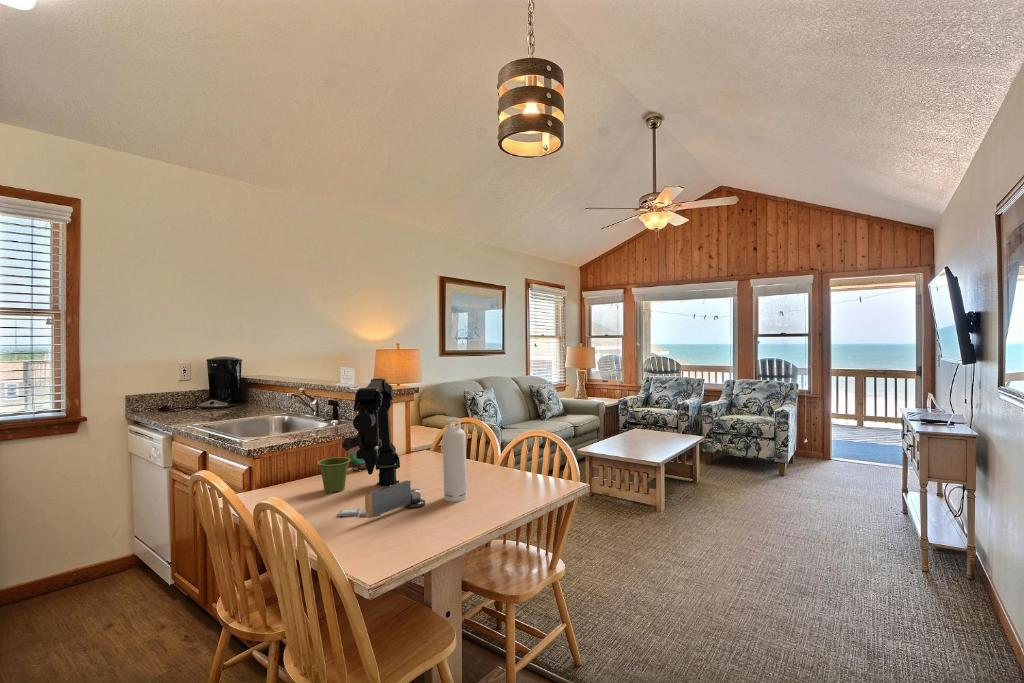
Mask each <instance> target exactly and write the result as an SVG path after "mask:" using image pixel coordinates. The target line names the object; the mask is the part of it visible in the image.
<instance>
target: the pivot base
mask: <svg viewBox="0 0 1024 683" xmlns="http://www.w3.org/2000/svg"><path fill="white" fill-rule="evenodd" d="M425 506H426V500H425V499H423V498H421V501H420V502H418V503H410V504H407V505H405V506H404V508H405V509H410V510H411V509H415V510H416V509H419V508H423V507H425Z"/></svg>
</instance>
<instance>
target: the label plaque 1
mask: <svg viewBox="0 0 1024 683" xmlns="http://www.w3.org/2000/svg"><path fill="white" fill-rule="evenodd" d="M360 510H361V508H350V509H340V511H339V513H338V518H341V517H340V516H348V517H356V516H355V515H358V514H359V515H360V512H359V511H360ZM353 515H354V516H353ZM359 515H358V516H359Z"/></svg>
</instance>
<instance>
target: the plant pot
mask: <svg viewBox="0 0 1024 683" xmlns="http://www.w3.org/2000/svg"><path fill="white" fill-rule="evenodd" d="M350 463H351V460H350V457H345V456H343V457H339V456H338V457H330V458H329V457H327V458H324V459H321V460H318V461H317V464H318V466H319V470H320V474H321V478H322V479H321V480H322V484H323V490H324V492H325V493H329V492H333V493H335V492H336V491H340V492H342V491H344V490H345V488H346V481H347V475H348V468H349V464H350ZM343 489H344V490H343ZM341 490H342V491H341ZM336 493H337V492H336Z"/></svg>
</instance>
